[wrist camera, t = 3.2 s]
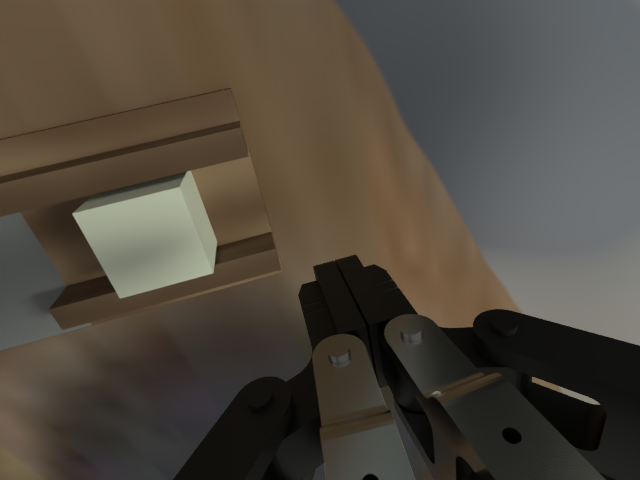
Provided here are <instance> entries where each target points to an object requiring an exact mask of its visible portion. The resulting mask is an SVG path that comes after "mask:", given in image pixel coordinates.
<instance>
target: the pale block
mask: <svg viewBox="0 0 640 480" xmlns="http://www.w3.org/2000/svg"><path fill="white" fill-rule="evenodd" d="M72 214H73V216H74V218H75V220H76V222H77V223H78V225H79V227H80V229H81V230H82V232H83V234H84V236H85V238H86V239H87V241H88V243H89V245H90V246H91V248H92V250H93V252H94V254H95V255H96V257H97V259H98V261H99V262H100V264H101V266H102V268H103V270H104V271H105V273H106V275H107V277H108V278H109V280H110V282H111V284H112V285H113V287H114V289H115V291H116V293H117V294H118V296H119V298H120V299H121V298H125V297H128V296H132V295H136V294H139V293H143V292H147V291H150V290H154V289H158V288H161V287H165V286H169V285H172V284H176V283H180V282H183V281H187V280H191V279H194V278H198V277H202V276H205V275H209V274H213V273H214V265H215V256H216V247H217V240H216V237H215V234H214V232H213V229H212V226H211V224H210V221H209V218H208V216H207V213H206V210H205V208H204V205H203V202H202V199H201V197H200V194H199V191H198V189H197V186H196V183H195V181H194V178H193V175H192V173H191V171H187V172H183V173H179V174H175V175H171V176H167V177H163V178H158V179H154V180H150V181H146V182H142V183H138V184H134V185H130V186H126V187H121V188H117V189H113V190H109V191H105V192H101V193H97V194H93V195H92V196H91V197H90V198H89V199H88V200H87V201H86V202H84V203H83V204H82V205H81V206H80V207H79V208H78V209H77V210H75V211H74V212H73V213H72Z"/></svg>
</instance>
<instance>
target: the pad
mask: <svg viewBox="0 0 640 480" xmlns="http://www.w3.org/2000/svg"><path fill="white" fill-rule="evenodd" d="M66 287H67V285H66V283H65V282H64V280H63V279H62V277H61V276H60V274H59V272H58V271H57V269H56V268H55V266H54V265H53V263H52V261H51V260H50V258H49V257H48V255H47V254H46V252H45V250H44V249H43V247H42V246H41V244H40V243H39V241H38V239H37V238H36V236H35V235H34V233H33V232H32V230H31V228H30V227H29V225H28V224H27V222H26V221H25V219H24V217H23V216H22V214H21V213H20V212H18V213H14V214H10V215H6V216H2V217H0V350H4V349H7V348H11V347H14V346H18V345H22V344H25V343H29V342H33V341H36V340H40V339H43V338H47V337H51V336H54V335H58V334H61V333H65V332H69V331H72V330H76V329H79V328H83V327H87V326H90V325H92V324H91V323H86V324H83V325H79V326H76V327H72V328H68V329H65V330H62V329H61V328H60V326H59V325H58V323H57V322H56V320H55V319H54V318H53V316H52V315H51V313H50V312H49V308H50V307H51V306H52V305H53V303H54V302H55V301H56V299H57V298H58V297H59V296H60V294H61V293H62V292H63V290H64V289H65V288H66Z"/></svg>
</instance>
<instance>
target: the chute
mask: <svg viewBox="0 0 640 480" xmlns="http://www.w3.org/2000/svg"><path fill="white" fill-rule="evenodd" d="M187 171H191V173H192V175H193V178H194V181H195V183H196V186H197V189H198V191H199V194H200V197H201V199H202V202H203V205H204V208H205V210H206V213H207V216H208V218H209V221H210V224H211V226H212V229H213V232H214V234H215V237H216V240H217V247H216V256H215V265H214V273H213V274H209V275H205V276H202V277H198V278H194V279H191V280H187V281H183V282H180V283H176V284H172V285H169V286H165V287H161V288H158V289H154V290H150V291H147V292H143V293H139V294H136V295H132V296H128V297H125V298H121V299H120V298H119V296H118V294H117V293H116V291H115V289H114V287H113V285H112V284H111V282H110V280H109V278H108V277H107V275H106V273H105V271H104V270H103V268H102V266H101V264H100V262H99V261H98V259H97V257H96V255H95V254H94V252H93V250H92V248H91V246H90V245H89V243H88V241H87V239H86V238H85V236H84V234H83V232H82V230H81V229H80V227H79V225H78V223H77V222H76V220H75V218H74V216H73V214H72V213H73V212H74V211H75V210H77V209H78V208H79V207H80V206H81V205H82V204H83V203H84V202H86V201H87V200H88V199H89V198H90V197H91V196H92V195H93V194H97V193H101V192H105V191H109V190H113V189H117V188H121V187H126V186H130V185H134V184H138V183H142V182H146V181H150V180H154V179H158V178H163V177H167V176H171V175H175V174H179V173H183V172H187ZM18 212H20V213H21V214H22V216H23V217H24V219H25V221H26V222H27V224H28V225H29V227H30V228H31V230H32V232H33V233H34V235H35V236H36V238H37V239H38V241H39V243H40V244H41V246H42V247H43V249H44V250H45V252H46V254H47V255H48V257H49V258H50V260H51V261H52V263H53V265H54V266H55V268H56V269H57V271H58V272H59V274H60V276H61V277H62V279H63V280H64V282H65V283H66V285H67V287H66V288H65V289H64V290H63V292H62V293H61V294H60V296H59V297H58V298H57V299H56V301H55V302H54V303H53V305H52V306H51V307H50V308H49V312H50V313H51V315H52V316H53V318H54V319H55V320H56V322H57V323H58V325H59V326H60V328H61V329H62V330H65V329H68V328H72V327H76V326H79V325H83V324H86V323H91V324H92V325H94V324H98V323H101V322H105V321H108V320H112V319H116V318H119V317H123V316H126V315H130V314H134V313H137V312H141V311H144V310H148V309H152V308H155V307H159V306H163V305H166V304H170V303H173V302H177V301H181V300H184V299H188V298H191V297H195V296H199V295H202V294H206V293H209V292H213V291H217V290H220V289H224V288H227V287H231V286H235V285H238V284H242V283H246V282H249V281H253V280H256V279H260V278H264V277H267V276H271V275H274V274H278V273H282V272H283V269H282V265H281V262H280V258H279V255H278V251H277V248H276V244H275V241H274V237H273V234H272V230H271V227H270V223H269V220H268V216H267V213H266V209H265V206H264V202H263V199H262V195H261V192H260V188H259V185H258V181H257V178H256V174H255V171H254V167H253V164H252V160H251V157H250V153H249V150H248V146H247V143H246V139H245V136H244V132H243V129H242V125H241V122H240V118H239V115H238V111H237V108H236V104H235V101H234V97H233V94H232V90H231V88H229V89H225V90H220V91H216V92H212V93H207V94H203V95H198V96H194V97H189V98H185V99H180V100H176V101H171V102H167V103H162V104H158V105H153V106H149V107H144V108H140V109H135V110H131V111H126V112H122V113H117V114H113V115H109V116H104V117H100V118H95V119H91V120H86V121H82V122H77V123H73V124H68V125H64V126H59V127H55V128H50V129H46V130H41V131H37V132H32V133H28V134H23V135H19V136H14V137H10V138H6V139H1V140H0V217H2V216H6V215H10V214H14V213H18Z"/></svg>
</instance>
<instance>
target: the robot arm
mask: <svg viewBox="0 0 640 480" xmlns="http://www.w3.org/2000/svg"><path fill="white" fill-rule="evenodd" d="M313 269H314V273H315V278H316V281H313V282H310V283H306V284H302V286H301V289H300V292H299V299H300V303H301V307H302V311H303V315H304V318H305V322H306V326H307V330H308V334H309V338H310V342H311V345H312V357H311V360H310V362H309V363H308V365H307V366H306V367H305V369H304V370H303V371H301V372H300V373H299V374H298V375H296V376H295V377H293V378H291V379H290V380H288V381H287V382H285V381H284V380H282V379H280V378H277V377H262V378H259V379H256V380H254V381H252V382H250V383H249V384H247V385H246V386H245V387H244V388H242V389H241V391H240V392H239V393H238V394H237V395H236V397H235V398H234V399H233V401H232V402H231V403H230V405H229V406H228V407H227V409H226V410H225V411H224V413H223V414H222V415H221V417H220V418H219V419H218V421H217V422H216V423H215V425H214V426H213V427H212V429H211V430H210V431H209V433H208V434H207V435H206V437H205V438H204V439H203V441H202V442H201V443H200V445H199V446H198V447H197V449H196V450H195V451H194V453H193V454H192V455H191V457H190V458H189V459H188V461H187V462H186V463H185V465H184V466H183V467H182V469H181V470H180V471H179V473H178V474H177V475H176V477H175V478H174V479H173V480H312V479H313V477H314V472H315V469H316V468H317V467H319V466H320V465H321V464H323V463H324V467H325V475H326V480H415V478H414V475H413V472H412V469H411V467H410V464H409V461H408V458H407V455H406V452H405V449H404V447H403V444H402V441H401V438H400V435H399V432H398V429H397V427H396V424H395V421H394V418H393V416H392V413H391V411H390V410H387V408H386V405H385V402H384V399H383V396H382V393H381V391H380V388H381V387H384V386H388V385H389V387H390V389H391V391H392V394H393V398H394V405H395V409H396V411H397V413H398V415H399V417H400V419H401V420H402V422H403V424H404V426H405V427H406V429H407V431H408V433H409V435H410V436H411V438H412V440H413V442H414V444H415V445H416V447H417V449H418V451H419V453H420V454H421V456H422V458H423V460H424V462H425V463H426V465H427V467H428V469H429V471H430V473H431V475H432V477H433V479H434V480H640V346H639V345H635V344H631V343H627V342H624V341H620V340H616V339H613V338H609V337H605V336H602V335H598V334H594V333H590V332H587V331H583V330H579V329H576V328H572V327H569V326H565V325H561V324H558V323H554V322H550V321H546V320H543V319H539V318H536V317H532V316H528V315H525V314H521V313H517V312H514V311H509V310H503V309H495V310H488V311H485V312H483V313H481V314H479V315H478V316H477V317H476V318H475V319H474V322H473V327H466V328H443V327H439V326H438V325H437V324H436V323H435V322H434V321H433V320H431V319H430V318H428V317H426V316H422V315H418V314H417V312H416V311H415V309H414V308H413V307H412V305H411V304H410V303H409V301H408V300H407V299H406V297H405V296H404V294H403V293H402V292H401V290H400V289H399V288H398V286H397V285H396V283H395V282H394V281H393V280H392V278H391V277H390V275H389V274H388V273H387V271H386V270H384V269H382V268H381V267H379V266H377V265H375V264H374V265H370V266H367V267H363V265H362V263H361V262H360V260H359V259H358V257H357V256H356V255H352V256H349V257H345V258H341V259H338V260H335V262H334V261H331V262H327V263H323V264H320V265H316V266H313ZM532 376H533V377H536V378H538V379H541V380H544V381H547V382H549V383H552V384H555V385H558V386H560V387H563V388H566V389H568V390H571V391H574V392H577V393H579V394H582V395H585V396H588V397H590V398H592V399H594V400H596V401H597V402H599V403H600V404H601V405H594V404H590V403H586V402H584V401H581V400H579V399H576V398H573V397H571V396H568V395H565V394H563V393H560V392H557V391H555V390H552V389H549V388H547V387H544V386H541V385H539V384H536V383H533V382H532Z"/></svg>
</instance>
